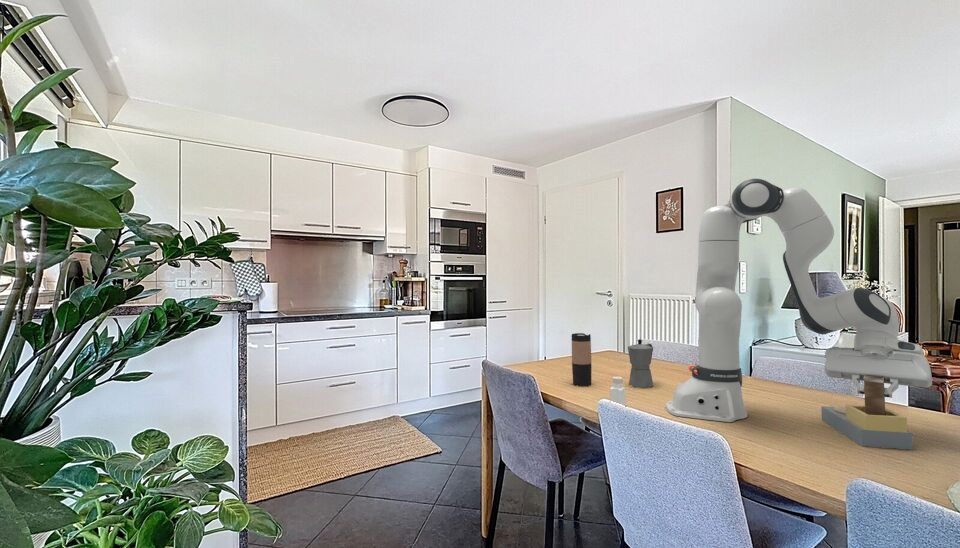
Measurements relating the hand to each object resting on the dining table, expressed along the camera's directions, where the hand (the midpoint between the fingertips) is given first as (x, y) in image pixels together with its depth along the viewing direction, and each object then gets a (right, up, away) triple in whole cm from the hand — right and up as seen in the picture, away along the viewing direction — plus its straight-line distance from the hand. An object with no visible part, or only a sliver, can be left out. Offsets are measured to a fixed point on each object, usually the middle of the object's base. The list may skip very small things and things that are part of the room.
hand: (874, 394), depth 106 cm
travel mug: (-58, -14, +64) cm, 87 cm away
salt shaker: (-53, -14, +33) cm, 64 cm away
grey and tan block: (+2, -12, +6) cm, 13 cm away
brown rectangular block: (+1, -6, 0) cm, 6 cm away
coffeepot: (-35, -14, +61) cm, 72 cm away
